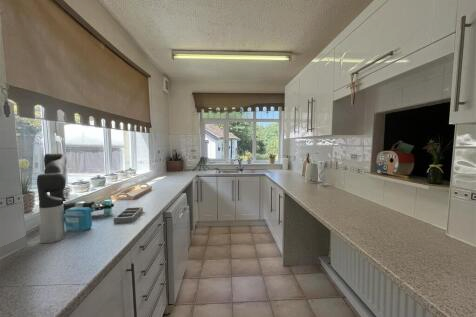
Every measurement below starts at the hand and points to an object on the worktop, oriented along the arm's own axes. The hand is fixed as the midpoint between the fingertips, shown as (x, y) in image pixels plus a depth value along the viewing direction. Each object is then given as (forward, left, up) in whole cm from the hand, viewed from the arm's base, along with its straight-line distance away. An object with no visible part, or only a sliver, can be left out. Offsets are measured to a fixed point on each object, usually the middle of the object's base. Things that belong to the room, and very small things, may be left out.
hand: (112, 206), depth 151 cm
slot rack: (-7, -13, -6) cm, 16 cm away
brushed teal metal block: (0, +3, -6) cm, 7 cm away
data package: (-25, +8, -6) cm, 27 cm away
